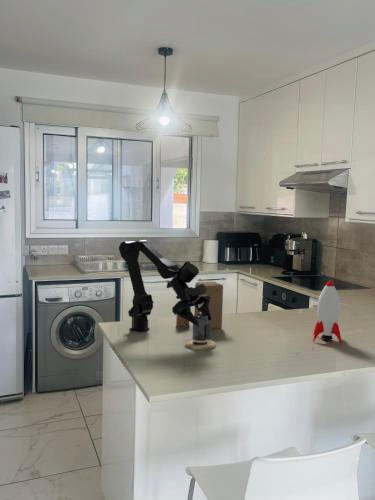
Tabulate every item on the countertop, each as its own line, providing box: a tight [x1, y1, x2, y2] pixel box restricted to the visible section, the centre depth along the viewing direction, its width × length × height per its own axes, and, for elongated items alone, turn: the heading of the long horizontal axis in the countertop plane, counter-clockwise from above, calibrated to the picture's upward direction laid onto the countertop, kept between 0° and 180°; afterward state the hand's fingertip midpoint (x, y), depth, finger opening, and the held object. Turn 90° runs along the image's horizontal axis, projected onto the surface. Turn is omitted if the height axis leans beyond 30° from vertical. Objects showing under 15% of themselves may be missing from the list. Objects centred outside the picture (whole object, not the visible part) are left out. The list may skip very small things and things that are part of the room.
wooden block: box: [194, 281, 224, 330], centre depth 204 cm, size 10×10×20 cm
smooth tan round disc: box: [184, 338, 217, 351], centre depth 176 cm, size 12×12×1 cm
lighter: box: [175, 314, 190, 330], centre depth 203 cm, size 8×3×10 cm, turn 141°
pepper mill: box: [191, 312, 212, 345], centre depth 175 cm, size 8×6×12 cm
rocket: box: [312, 280, 343, 346], centre depth 187 cm, size 11×11×25 cm
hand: (203, 321), depth 175 cm, fingers open, 9 cm apart
